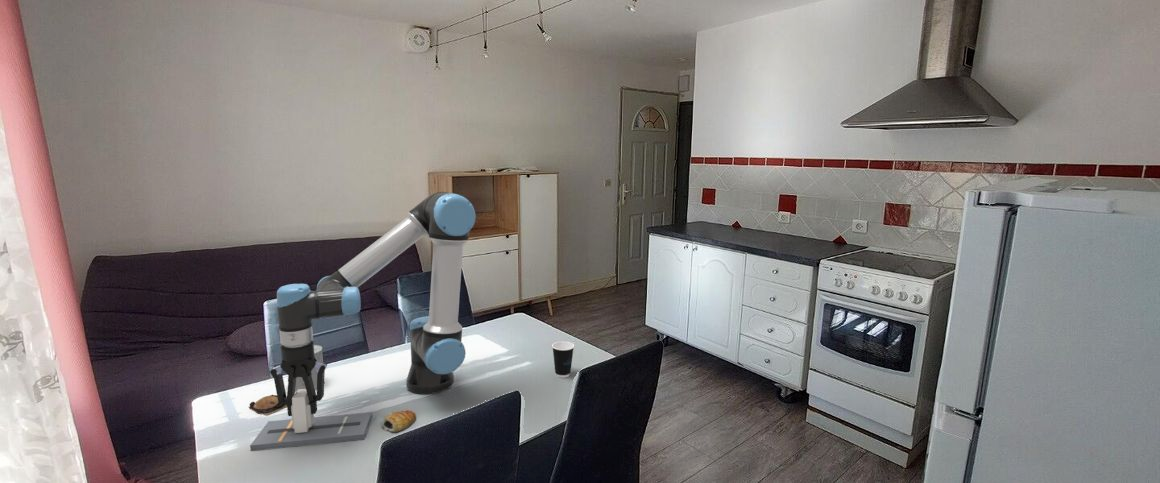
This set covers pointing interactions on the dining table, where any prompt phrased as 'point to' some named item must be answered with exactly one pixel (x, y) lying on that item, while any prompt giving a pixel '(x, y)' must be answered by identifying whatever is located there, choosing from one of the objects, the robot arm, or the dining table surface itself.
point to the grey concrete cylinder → (319, 358)
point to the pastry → (398, 420)
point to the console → (313, 431)
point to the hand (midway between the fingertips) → (303, 425)
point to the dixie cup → (562, 358)
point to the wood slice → (267, 405)
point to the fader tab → (300, 411)
